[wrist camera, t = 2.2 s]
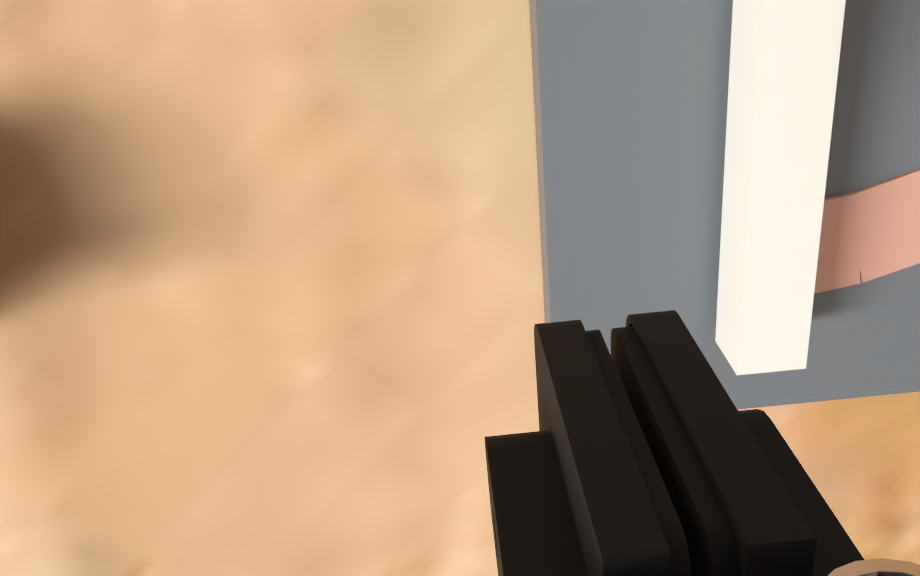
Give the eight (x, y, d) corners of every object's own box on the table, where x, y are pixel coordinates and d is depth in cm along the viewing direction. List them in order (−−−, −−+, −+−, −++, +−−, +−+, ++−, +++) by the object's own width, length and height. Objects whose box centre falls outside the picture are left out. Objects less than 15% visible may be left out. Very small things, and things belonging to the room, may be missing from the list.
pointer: (710, -496, 18) (751, -547, 16) (903, -514, 18) (971, -568, 16) (683, 344, 27) (706, 386, 24) (811, 331, 27) (846, 372, 24)
